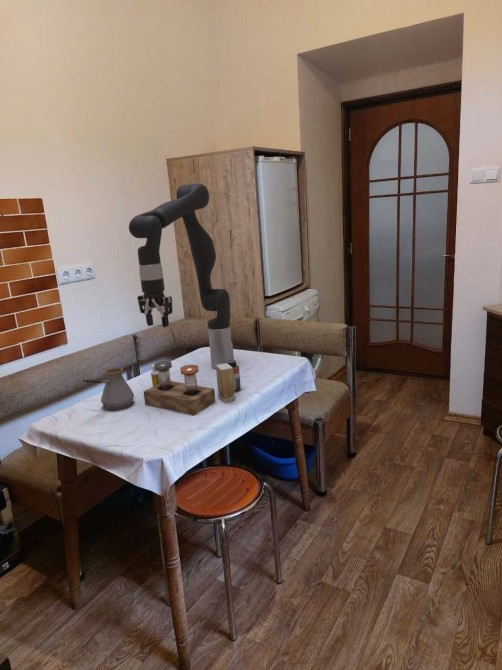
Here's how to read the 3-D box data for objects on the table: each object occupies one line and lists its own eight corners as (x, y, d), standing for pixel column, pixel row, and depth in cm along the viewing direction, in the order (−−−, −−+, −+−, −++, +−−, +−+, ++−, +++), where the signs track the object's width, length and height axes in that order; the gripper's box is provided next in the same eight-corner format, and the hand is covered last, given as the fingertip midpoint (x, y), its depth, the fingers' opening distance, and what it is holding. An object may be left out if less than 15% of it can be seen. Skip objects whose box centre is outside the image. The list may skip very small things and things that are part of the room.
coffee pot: (115, 397, 176) (109, 359, 172) (141, 400, 172) (136, 360, 168) (75, 422, 157) (67, 379, 153) (103, 425, 153) (96, 382, 149)
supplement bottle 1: (163, 385, 185) (161, 361, 183) (169, 388, 181) (166, 364, 179) (150, 388, 183) (147, 364, 180) (156, 392, 178) (153, 368, 176)
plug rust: (190, 389, 166) (188, 363, 164) (204, 392, 163) (201, 365, 160) (179, 395, 161) (176, 369, 159) (193, 398, 158) (190, 371, 156)
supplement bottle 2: (221, 390, 175) (218, 361, 172) (232, 385, 180) (230, 357, 177) (232, 394, 171) (230, 364, 168) (244, 388, 176) (241, 359, 173)
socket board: (168, 392, 177) (166, 380, 176) (215, 402, 165) (214, 388, 164) (145, 404, 167) (143, 391, 166) (193, 415, 156) (192, 401, 154)
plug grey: (165, 384, 172) (162, 359, 170) (177, 387, 169) (174, 361, 167) (153, 390, 168) (150, 365, 165) (166, 393, 164) (163, 367, 162)
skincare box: (218, 397, 169) (214, 364, 166) (229, 394, 171) (226, 362, 168) (224, 403, 164) (221, 369, 161) (235, 400, 165) (233, 367, 162)
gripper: (175, 276, 157) (181, 325, 162) (144, 275, 165) (150, 322, 169) (159, 279, 151) (166, 330, 156) (128, 279, 159) (135, 327, 163)
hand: (157, 325), depth 163 cm, fingers open, 6 cm apart
